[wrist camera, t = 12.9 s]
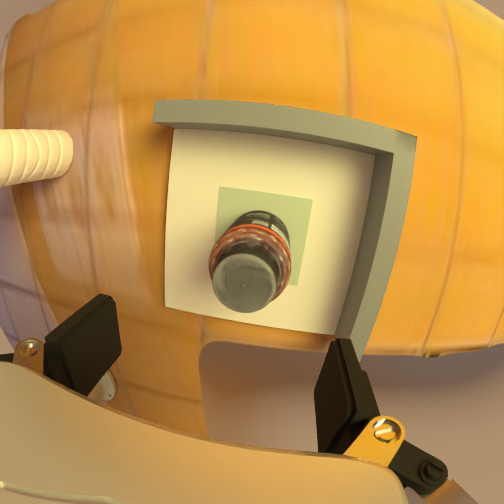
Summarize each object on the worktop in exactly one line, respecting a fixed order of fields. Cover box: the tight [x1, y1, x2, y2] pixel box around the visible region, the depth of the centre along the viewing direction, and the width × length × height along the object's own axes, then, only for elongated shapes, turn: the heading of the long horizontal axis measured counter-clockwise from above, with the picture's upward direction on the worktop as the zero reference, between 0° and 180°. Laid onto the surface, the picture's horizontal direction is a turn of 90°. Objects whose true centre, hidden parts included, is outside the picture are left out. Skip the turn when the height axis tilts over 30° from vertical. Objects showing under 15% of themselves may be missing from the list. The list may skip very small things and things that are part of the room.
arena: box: [152, 100, 417, 361], centre depth 25 cm, size 22×22×6 cm
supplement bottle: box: [209, 210, 291, 313], centre depth 22 cm, size 6×6×11 cm
